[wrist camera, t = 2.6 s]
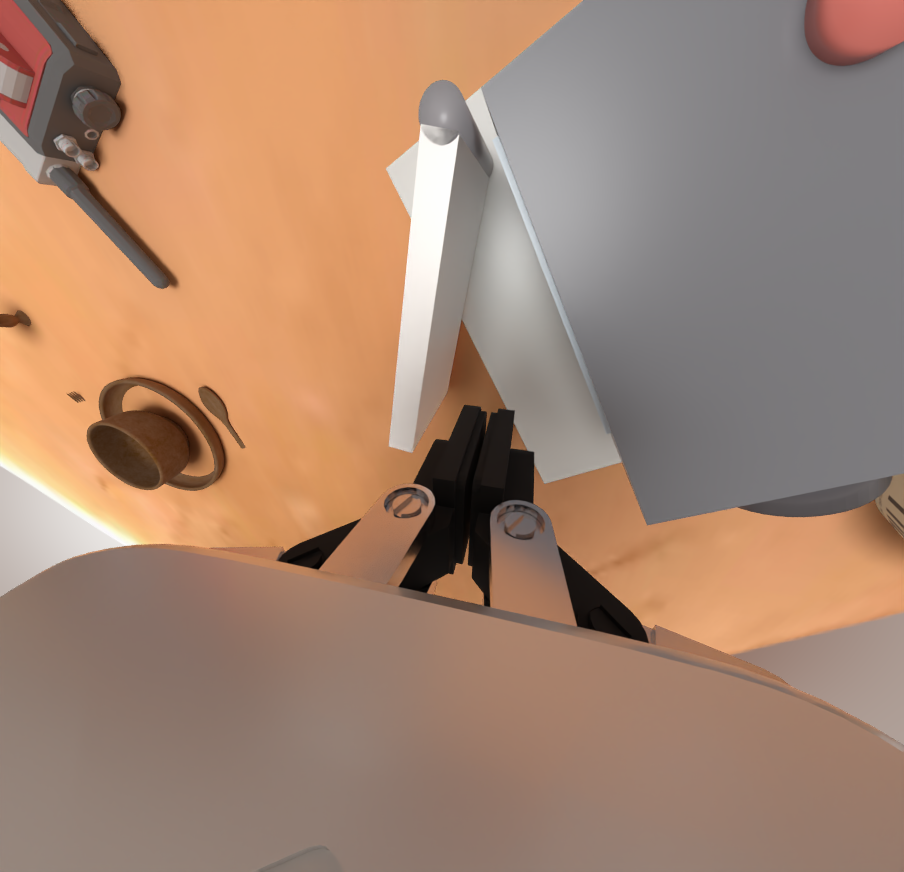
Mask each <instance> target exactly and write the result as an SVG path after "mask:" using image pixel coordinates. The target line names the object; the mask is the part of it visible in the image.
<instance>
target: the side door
mask: <svg viewBox="0 0 904 872" xmlns="http://www.w3.org/2000/svg"><path fill="white" fill-rule="evenodd" d="M419 122H420V126H421V127H420V137H419V147H418V157H417V167H416V178H415V188H414V198H413V208H412V218H411V228H410V238H409V248H408V258H407V268H406V278H405V288H404V298H403V308H402V318H401V328H400V338H399V349H398V359H397V369H396V379H395V389H394V399H393V409H392V419H391V429H390V439H389V447H393V448H396V449H400V450H403V451H407V452H410V453H412V452H413V451H414V449H415V447H416V446H417V444H418V442H419V440H420V439H421V437H422V435H423V434H424V432H425V430H426V429H427V427H428V425H429V423H430V422H431V420H432V418H433V417H434V415H435V413H436V411H437V410H438V408H439V406H440V405H441V403H442V401H443V399H444V398H445V396H446V394H447V392H448V386H449V381H450V376H451V371H452V366H453V361H454V356H455V350H456V345H457V340H458V335H459V330H460V325H461V320H462V314H463V309H464V304H465V299H466V294H467V289H468V284H469V278H470V273H471V268H472V263H473V258H474V253H475V248H476V242H477V237H478V232H479V227H480V222H481V217H482V212H483V206H484V201H485V196H486V191H487V186H488V181H489V177H490V176H491V174H492V170H493V159H492V156H491V154H490V152H489V150H488V147H487V145H486V143H485V141H484V139H483V137H482V135H481V133H480V131H479V129H478V127H477V125H476V123H475V120H474V118H473V116H472V114H471V112H470V110H469V108H468V106H467V104H466V102H465V100H464V98H463V95H462V93H461V92H460V90H459V89H458V87H457V86H456V85H455V84H453V83H452V82H450V81H447V80H439V81H436V82H434V83H433V84H431V85H430V86H429V87H428V88H427V89H426V91H425V92H424V94H423V96H422V99H421V101H420V106H419Z"/></svg>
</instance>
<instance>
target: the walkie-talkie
mask: <svg viewBox="0 0 904 872" xmlns="http://www.w3.org/2000/svg"><path fill="white" fill-rule="evenodd" d="M120 85H121V81H120V78H119V76H118V73H117V70H116V69H115V67H114V66H113V65H112V64H111V62H110V61H109V60H108V59H107V57H106V56H105V55H104V54H103V52H102V51H101V50H100V49H99V47H98V46H97V45H96V44H95V42H94V41H93V40H92V39H91V37H90V36H89V35H88V34H87V32H86V31H85V30H84V29H83V27H82V26H81V25H80V24H79V22H78V21H77V20H76V19H75V17H74V16H73V15H72V14H71V12H70V11H69V10H68V9H67V7H66V6H65V5H64V3H63V2H62V1H61V0H0V141H1V142H2V143H3V144H4V145H5V146H6V147H7V148H8V149H9V150H10V152H11V153H12V154H13V155H14V156H15V157H16V158H17V159H18V160H19V161H20V162H21V163H22V164H23V166H24V168H25V170H26V171H27V172H28V173H29V174H30V175H31V176H32V177H33V178H34V179H35V180H36V181H37V182H38V183H40V184H46V185H54V186H58V187H59V188H60V189H61V190H62V191H63V192H64V193H65V194H66V196H67V197H69V198H71V199H73V200H74V201H75V202H76V203H77V204H78V205H79V206H80V207H81V208H82V209H83V210H84V212H85V213H86V214H87V215H88V216H89V217H90V218H91V219H92V220H93V221H94V222H95V223H96V224H97V225H98V226H99V228H100V229H101V230H102V231H103V232H104V233H105V234H106V235H107V236H108V237H109V238H110V239H111V240H112V241H113V242H114V244H115V245H116V246H117V247H118V248H119V249H120V250H121V251H122V252H123V253H124V254H125V255H126V256H127V257H128V258H129V260H130V261H131V262H132V263H133V264H134V265H135V266H136V267H137V268H138V269H139V270H140V271H141V272H142V273H143V274H144V276H145V277H146V278H147V279H148V280H149V281H150V282H151V283H152V284H153V285H154V286H156V287H157V288H161V289H164V288H167V287H168V286H169V284H170V282H169V279H168V278H167V276H166V275H165V274H164V273H163V272H162V271H161V270H160V269H159V268H158V267H157V266H156V264H155V263H154V262H153V261H152V260H151V259H150V258H149V257H148V256H147V255H146V253H145V252H144V251H143V250H142V249H141V248H140V247H139V246H138V245H137V244H136V243H135V241H134V240H133V239H132V238H131V237H130V236H129V235H128V234H127V233H126V232H125V231H124V229H123V228H122V227H121V226H120V225H119V224H118V223H117V222H116V221H115V220H114V219H113V217H112V216H111V215H110V214H109V213H108V212H107V211H106V210H105V209H104V208H103V207H102V205H101V204H100V203H99V202H98V201H97V200H96V199H95V198H94V197H93V196H92V194H91V193H90V189H89V188H88V187H87V186H86V185H85V183H84V182H83V181H82V180H81V179H80V178H79V177H78V176H77V175H78V172H79V170H80V167H81V165H82V166H83V167H84V168H85V169H86V170H89V171H94V170H96V169H97V168H98V167H99V164H98V163H97V161H96V160H95V158H94V155H93V153H94V151H95V148H96V146H97V143H98V141H99V138H100V135H101V133H102V130H108V129H111V128H113V127H115V126H116V125H117V124H118V123H119V121H120V118H121V111H120V108H119V107H118V105H117V104H116V102H115V101H114V100H115V97H116V95H117V92H118V90H119V87H120Z"/></svg>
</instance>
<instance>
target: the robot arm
mask: <svg viewBox="0 0 904 872" xmlns="http://www.w3.org/2000/svg"><path fill="white" fill-rule="evenodd" d="M514 415H515V410H506V409H498V413H494V412H491V416H490V420H489V423H488V427H487V431H486V418H487V412H485V411H481V407H478V406H469V405H464V407H463V409H462V411H461V414H460V416H459V418H458V421H457V423H456V425H455V427H454V430H453V432H452V434H451V437H450V439H449V441H447V440H439V439H436V440H435V441H434V443H433V445H432V447H431V449H430V451H429V453H428V455H427V457H426V459H425V461H424V463H423V465H422V467H421V469H420V471H419V473H418V475H417V477H416V479H415V481H414V483H413V484H401V485H397V486H394V487H392V488H390V489H388V490H387V491H386V492H384V493H383V494H382V495H381V496H380V498H379V499H378V500H377V501H376V502H375V504H374V505H373V506H372V507H371V508H370V509H369V511H368V512H367V513H366V514H365V515H364V517H363V518H362V519H359V520H357V521H354V522H352V523H349V524H347V525H344V526H342V527H339V528H337V529H334V530H332V531H329V532H327V533H324V534H322V535H319V536H317V537H314V538H312V539H309V540H307V541H304V542H302V543H300V544H298V545H296V546H294V547H292V548H290V549H289V550H288V551H284V549H283V547H232V548H203V547H195V546H186V545H171V544H149V545H131V546H123V547H116V548H109V549H104V550H99V551H95V552H90V553H86V554H83V555H79V556H75V557H72V558H70V559H67V560H65V561H62V562H60V563H58V564H56V565H54V566H52V567H50V568H48V569H46V570H44V571H42V572H41V573H39V574H37V575H36V576H34V577H32V578H31V579H29V580H27V581H26V582H24V583H23V584H21V585H19V586H17V587H15V588H14V589H12V590H10V591H9V592H7V593H6V594H4V595H3V596H1V597H0V872H904V745H903V744H901V743H899V742H898V741H896V740H894V739H893V738H891V737H889V736H888V735H886V734H885V733H883V732H881V731H880V730H878V729H876V728H875V727H873V726H871V725H869V724H867V723H865V722H863V721H861V720H860V719H857V718H856V717H854V716H852V715H850V714H848V713H846V712H844V711H843V710H841V709H839V708H837V707H835V706H833V705H831V704H829V703H827V702H825V701H823V700H821V699H819V698H816V697H814V696H812V695H809V694H807V693H805V692H803V691H800V690H798V689H796V688H793V687H791V686H790V685H788V684H787V683H786V682H785V681H784V680H782V679H781V678H779V677H778V676H776V675H774V674H772V673H770V672H769V671H767V670H765V669H763V668H760V667H758V666H755V665H753V664H751V663H748V662H745V661H743V660H741V659H738V658H736V657H733V656H731V655H728V654H726V653H724V652H721V651H719V650H716V649H714V648H711V647H709V646H706V645H704V644H701V643H699V642H696V641H694V640H692V639H689V638H687V637H684V636H682V635H679V634H677V633H674V632H672V631H669V630H667V629H665V628H662V627H660V626H657V625H655V626H654V628H653V629H651V628H648V627H646V626H643V625H642V624H641V623H640V621H639V620H638V619H637V618H636V616H635V615H634V614H633V613H632V612H631V611H630V610H629V609H628V608H627V607H626V606H625V605H623V604H622V603H621V602H620V601H619V600H618V599H617V598H616V597H615V596H613V595H612V594H611V593H610V592H609V591H608V590H607V589H606V588H604V587H603V586H602V585H601V584H600V583H599V582H598V581H597V580H596V579H594V578H593V577H592V576H591V575H590V574H589V573H588V572H587V571H586V570H584V569H583V568H582V567H581V566H580V565H579V564H578V563H577V562H576V561H574V560H573V559H572V558H571V557H570V556H569V555H568V554H567V553H566V552H564V551H563V550H562V549H561V548H560V547H559V546H558V545H557V543H556V539H555V535H554V531H553V526H552V523H551V520H550V518H549V516H548V515H547V514H546V513H545V512H544V510H542V509H541V508H539V507H538V506H536V505H535V504H533V496H534V452H533V451H525V450H517V449H510V448H511V440H512V431H513V423H514ZM485 432H486V435H485ZM468 539H469V555H468V565H469V566H472V579H473V580H474V581H475V583H476V584H477V585H478V587H479V588H480V589H481V591H482V592H483V599H482V605H478V604H473V603H469V602H464V601H460V600H455V599H451V598H446V597H442V596H437V595H433V593H434V591H435V589H436V585H437V579H439V578H441V577H442V576H444V575H446V574H448V573H449V574H454V570H455V566H456V563H459V564H463V561H464V557H465V552H466V548H467V544H468Z"/></svg>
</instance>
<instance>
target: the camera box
mask: <svg viewBox="0 0 904 872" xmlns="http://www.w3.org/2000/svg"><path fill="white" fill-rule="evenodd" d="M465 102H466V104H467V106H468V108H469V110H470V112H471V114H472V116H473V118H474V120H475V123H476V125H477V127H478V129H479V131H480V133H481V135H482V137H483V139H484V141H485V143H486V145H487V147H488V150H489V152H490V154H491V156H492V159H493V170H492V174H491V176H490V177H489V181H488V186H487V191H486V196H485V201H484V206H483V212H482V217H481V222H480V227H479V232H478V237H477V242H476V248H475V253H474V258H473V263H472V268H471V273H470V278H469V284H468V289H467V294H466V299H465V304H464V309H463V314H462V321H463V323H464V325H465V327H466V329H467V331H468V333H469V335H470V337H471V339H472V341H473V343H474V345H475V347H476V349H477V351H478V353H479V355H480V357H481V359H482V361H483V363H484V365H485V367H486V369H487V371H488V373H489V375H490V377H491V379H492V381H493V383H494V385H495V387H496V389H497V391H498V393H499V395H500V396H501V398H502V400H503V402H504V404H505V406H506V408H507V410H515V415H514V424H515V426H516V428H517V430H518V432H519V434H520V436H521V438H522V440H523V442H524V444H525V446H526V448H527V450H528V451H533V452H534V464H535V466H536V468H537V470H538V472H539V474H540V476H541V478H542V480H543V482H544V484H546V483H550V482H553V481H557V480H560V479H564V478H567V477H571V476H575V475H578V474H582V473H585V472H589V471H592V470H596V469H600V468H603V467H607V466H610V465H614V464H617V463H621V462H622V464H623V466H624V469H625V471H626V474H627V476H628V479H629V481H630V484H631V486H632V489H633V491H634V494H635V496H636V499H637V501H638V504H639V506H640V509H641V511H642V514H643V516H644V519H645V521H646V524H647V525H651V524H656V523H661V522H666V521H671V520H676V519H681V518H686V517H691V516H696V515H701V514H706V513H711V512H716V511H721V510H726V509H731V508H735V507H738V508H741V509H744V510H748V511H751V512H756V513H760V514H766V515H773V516H784V517H813V516H823V515H831V514H836V513H841V512H845V511H849V510H852V509H855V508H858V507H861V506H863V505H865V504H867V503H870V502H871V501H873V500H875V499H876V498H878V497H879V496H880V495H882V494H883V493H884V492H885V491H886V490H887V488H888V487H889V486H890V484H891V481H892V478H893V476H894V475H899V474H904V0H583V1H582V2H581V3H579V4H578V5H577V6H576V7H575V8H574V9H572V10H571V11H570V12H569V13H568V14H567V15H565V16H564V17H563V18H562V19H561V20H560V21H558V22H557V23H556V24H555V25H554V26H553V27H551V28H550V29H549V30H548V31H547V32H546V33H544V34H543V35H542V36H541V37H540V38H538V39H537V40H536V41H535V42H534V43H533V44H531V45H530V46H529V47H528V48H527V49H526V50H524V51H523V52H522V53H521V54H520V55H519V56H517V57H516V58H515V59H514V60H513V61H512V62H510V63H509V64H508V65H507V66H506V67H504V68H503V69H502V70H501V71H500V72H499V73H497V74H496V75H495V76H494V77H493V78H492V79H490V80H489V81H488V82H487V83H486V84H485V85H483V86H482V87H481V88H480V89H479V90H478V91H476V92H475V93H474V94H473V95H472V96H471V97H469V98H468V99H467V100H466V101H465ZM418 147H419V141H418V142H417V143H415V144H414V145H413V146H412V147H411V148H410V149H408V150H407V151H406V152H405V153H404V154H403V155H401V156H400V157H399V158H398V159H397V160H396V161H394V162H393V163H392V164H391V165H390V166H388V167H387V168H386V170H387V172H388V174H389V176H390V178H391V180H392V182H393V184H394V186H395V188H396V190H397V192H398V194H399V196H400V198H401V200H402V202H403V204H404V206H405V208H406V210H407V211H408V213H409V215H410V217H411V218H412V208H413V198H414V188H415V178H416V167H417V157H418Z"/></svg>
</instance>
